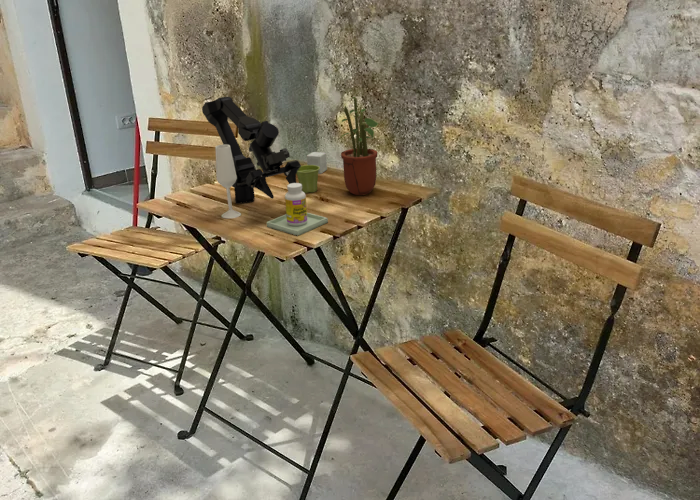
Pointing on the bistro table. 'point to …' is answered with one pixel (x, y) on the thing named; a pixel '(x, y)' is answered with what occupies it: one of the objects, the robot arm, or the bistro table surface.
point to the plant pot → (308, 177)
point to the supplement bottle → (295, 205)
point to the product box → (317, 160)
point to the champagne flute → (226, 175)
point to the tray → (282, 225)
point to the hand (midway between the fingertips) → (284, 194)
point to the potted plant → (359, 156)
